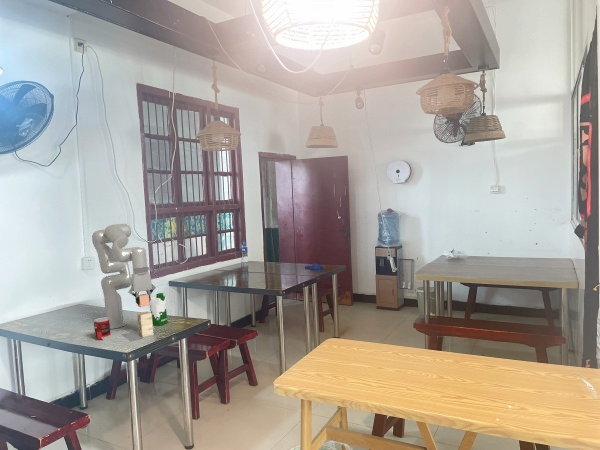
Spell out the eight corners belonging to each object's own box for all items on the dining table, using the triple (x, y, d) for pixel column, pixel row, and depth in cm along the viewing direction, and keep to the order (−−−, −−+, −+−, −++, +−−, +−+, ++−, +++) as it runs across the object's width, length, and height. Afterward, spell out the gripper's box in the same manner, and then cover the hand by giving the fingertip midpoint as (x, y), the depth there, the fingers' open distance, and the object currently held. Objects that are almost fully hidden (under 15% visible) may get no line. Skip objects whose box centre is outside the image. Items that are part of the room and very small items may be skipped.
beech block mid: (138, 324, 241) (137, 313, 241) (148, 321, 245) (147, 311, 244) (141, 326, 236) (140, 315, 236) (152, 323, 240) (151, 313, 240)
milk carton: (161, 329, 255) (158, 295, 254) (148, 328, 258) (145, 295, 257) (170, 324, 263) (167, 292, 262) (158, 324, 266) (155, 291, 265)
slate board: (121, 337, 244) (121, 334, 244) (149, 330, 254) (149, 327, 254) (131, 344, 230) (131, 341, 230) (161, 336, 240) (160, 334, 240)
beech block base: (139, 334, 241) (138, 324, 241) (149, 332, 245) (148, 321, 245) (142, 337, 237) (141, 326, 236) (153, 334, 240) (152, 323, 240)
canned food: (98, 336, 248) (96, 317, 248) (112, 335, 249) (111, 316, 248) (93, 341, 241) (91, 321, 240) (108, 339, 241) (106, 320, 241)
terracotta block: (137, 306, 240) (136, 295, 240) (146, 304, 243) (145, 293, 243) (140, 307, 236) (139, 296, 236) (149, 305, 239) (148, 294, 239)
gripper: (153, 267, 247) (156, 299, 248) (122, 272, 236) (125, 305, 237) (158, 268, 241) (161, 300, 242) (126, 273, 230) (129, 307, 231)
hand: (143, 302), depth 240 cm, fingers closed on terracotta block, 5 cm apart
